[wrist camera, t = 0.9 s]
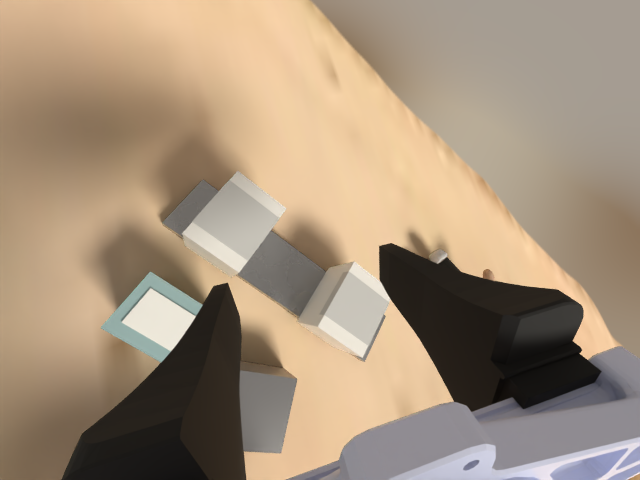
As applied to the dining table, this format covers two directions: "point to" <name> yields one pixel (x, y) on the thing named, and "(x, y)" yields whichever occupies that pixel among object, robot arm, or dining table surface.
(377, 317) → the mounted module
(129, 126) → the dining table surface
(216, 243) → the block
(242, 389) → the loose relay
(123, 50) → the dining table surface
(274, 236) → the rail
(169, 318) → the block
